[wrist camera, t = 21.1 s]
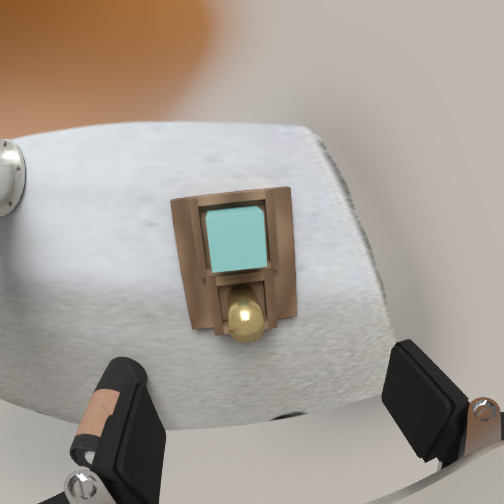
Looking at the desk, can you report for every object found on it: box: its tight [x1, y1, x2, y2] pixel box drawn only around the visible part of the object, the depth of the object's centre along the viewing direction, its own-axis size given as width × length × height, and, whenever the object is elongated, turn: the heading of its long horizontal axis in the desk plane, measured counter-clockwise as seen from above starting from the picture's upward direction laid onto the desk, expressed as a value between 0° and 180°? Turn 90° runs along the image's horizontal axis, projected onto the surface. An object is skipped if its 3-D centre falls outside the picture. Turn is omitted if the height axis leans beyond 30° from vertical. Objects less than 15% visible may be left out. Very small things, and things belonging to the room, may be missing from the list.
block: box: [206, 205, 267, 273], centre depth 34 cm, size 6×6×6 cm
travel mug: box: [70, 357, 147, 469], centre depth 34 cm, size 8×8×20 cm
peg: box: [227, 284, 265, 343], centre depth 35 cm, size 4×4×8 cm
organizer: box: [170, 187, 297, 335], centre depth 38 cm, size 15×18×4 cm
